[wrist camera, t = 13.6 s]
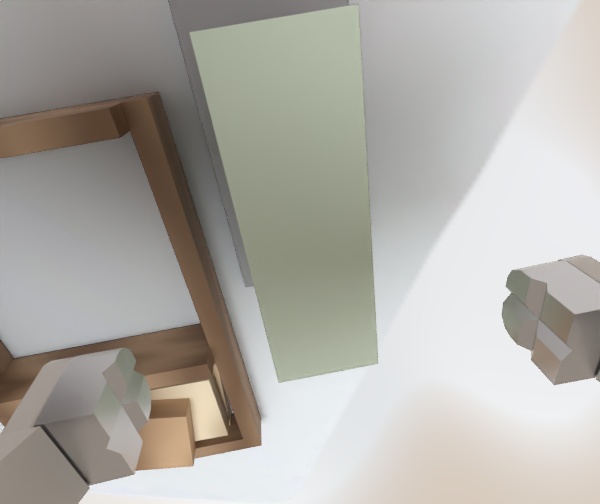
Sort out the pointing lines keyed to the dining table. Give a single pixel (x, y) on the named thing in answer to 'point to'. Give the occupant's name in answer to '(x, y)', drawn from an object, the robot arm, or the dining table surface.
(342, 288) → the pale green cuboid
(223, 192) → the slate pad
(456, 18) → the dining table surface
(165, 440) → the offcut stack
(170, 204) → the frame
